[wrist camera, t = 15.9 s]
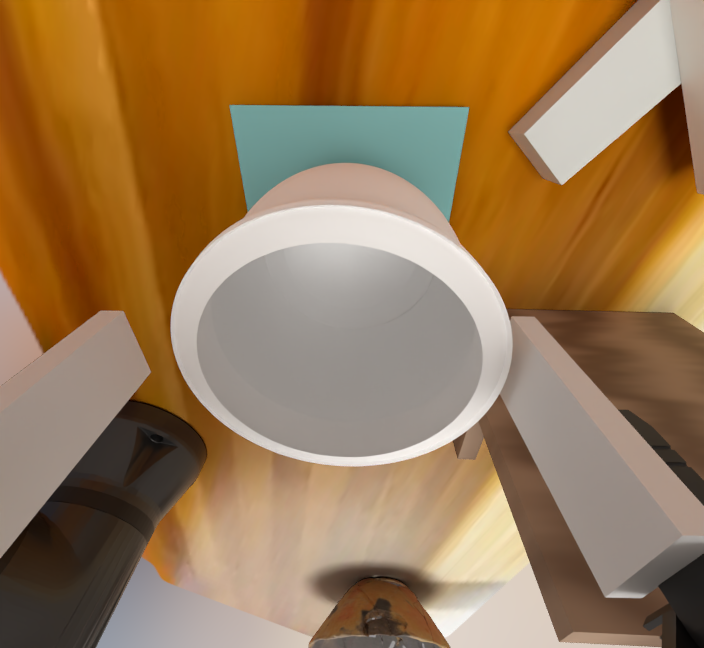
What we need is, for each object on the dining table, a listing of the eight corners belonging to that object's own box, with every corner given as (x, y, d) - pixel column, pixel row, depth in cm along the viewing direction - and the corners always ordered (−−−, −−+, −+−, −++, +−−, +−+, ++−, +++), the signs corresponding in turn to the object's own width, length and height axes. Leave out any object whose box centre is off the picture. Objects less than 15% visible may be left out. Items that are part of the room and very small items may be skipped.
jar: (460, 197, 21) (600, 323, 8) (381, 313, 26) (396, 496, 14) (313, 108, 18) (208, 101, 6) (259, 256, 24) (143, 415, 11)
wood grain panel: (430, 371, 31) (508, 677, 14) (443, 307, 27) (573, 631, 10) (630, 376, 30) (956, 701, 13) (673, 313, 26) (1215, 663, 9)
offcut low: (538, 176, 21) (561, 185, 19) (504, 131, 20) (524, 134, 18) (923, -168, 13) (1051, -232, 11) (910, -282, 12) (1052, -385, 10)
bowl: (307, 557, 56) (297, 634, 48) (448, 559, 55) (463, 639, 46) (323, 604, 70) (317, 670, 62) (435, 607, 69) (445, 675, 60)
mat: (266, 304, 27) (264, 308, 26) (234, 105, 19) (229, 105, 18) (431, 308, 27) (432, 313, 26) (465, 107, 19) (469, 107, 18)
